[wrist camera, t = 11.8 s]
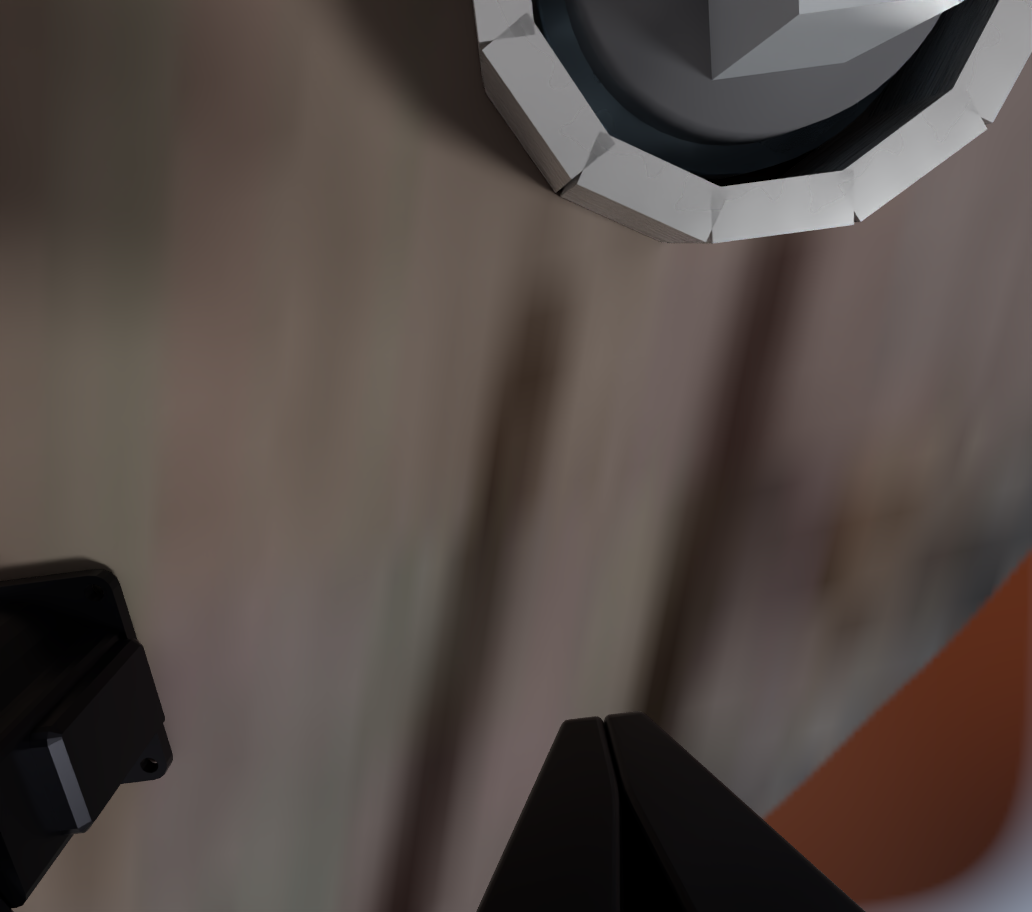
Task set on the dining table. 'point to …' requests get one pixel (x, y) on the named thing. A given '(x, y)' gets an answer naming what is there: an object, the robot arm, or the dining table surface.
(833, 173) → the faceted white dish
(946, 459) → the dining table surface
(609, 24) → the grey knob
